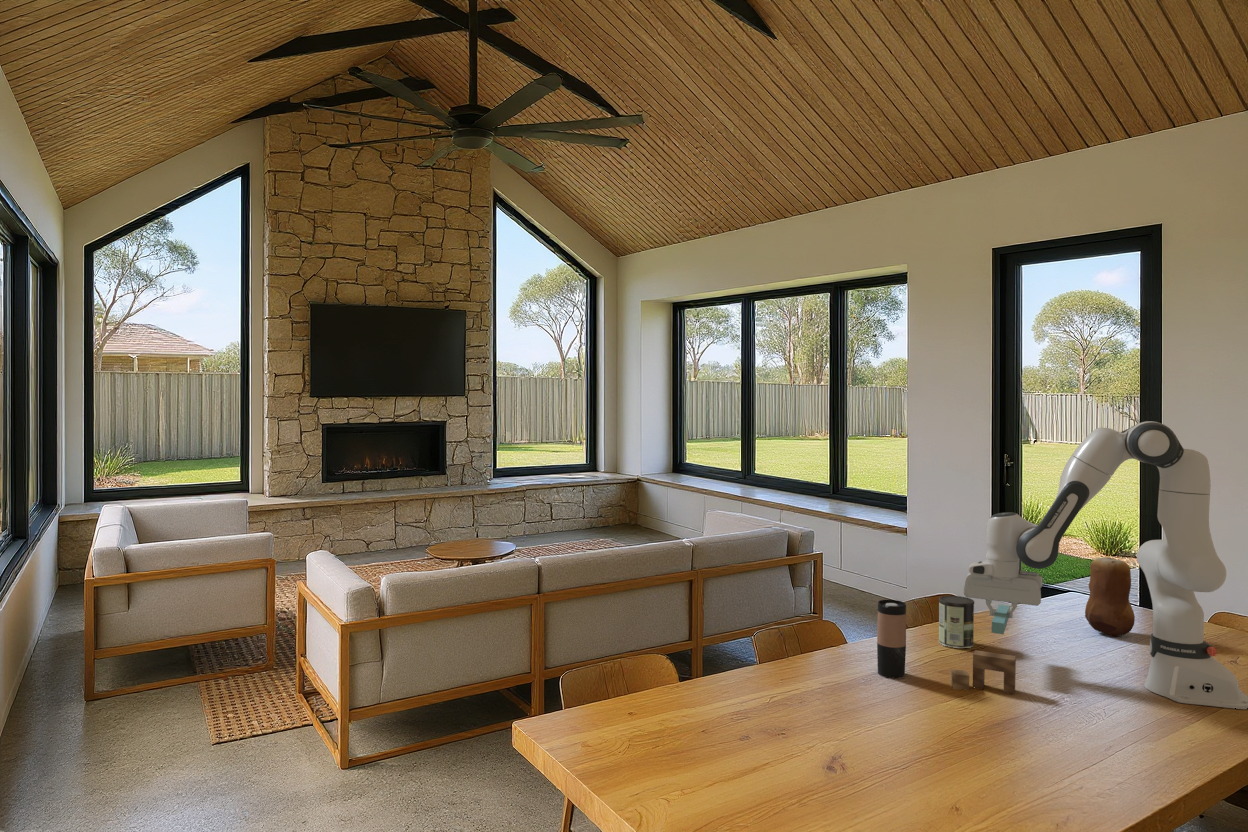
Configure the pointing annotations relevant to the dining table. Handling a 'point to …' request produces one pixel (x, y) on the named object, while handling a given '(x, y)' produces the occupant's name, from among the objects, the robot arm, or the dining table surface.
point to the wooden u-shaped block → (994, 668)
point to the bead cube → (959, 679)
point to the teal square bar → (1000, 619)
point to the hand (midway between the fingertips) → (1001, 616)
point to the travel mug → (891, 638)
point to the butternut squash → (1110, 597)
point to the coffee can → (956, 621)
